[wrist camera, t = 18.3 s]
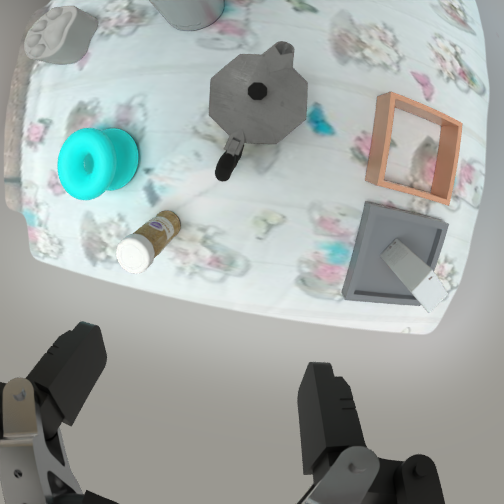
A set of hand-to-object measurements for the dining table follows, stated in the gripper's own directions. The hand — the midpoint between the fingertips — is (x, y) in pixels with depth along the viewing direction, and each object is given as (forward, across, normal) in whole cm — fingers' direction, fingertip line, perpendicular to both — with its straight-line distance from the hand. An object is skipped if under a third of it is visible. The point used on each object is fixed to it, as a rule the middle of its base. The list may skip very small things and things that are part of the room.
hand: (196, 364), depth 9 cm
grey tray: (+33, -26, +6) cm, 43 cm away
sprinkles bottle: (+33, +12, +6) cm, 36 cm away
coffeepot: (+33, 0, -11) cm, 35 cm away
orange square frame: (+33, -24, -12) cm, 43 cm away
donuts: (+33, +22, -4) cm, 40 cm away
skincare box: (+32, -26, +6) cm, 42 cm away
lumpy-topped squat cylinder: (+33, +37, -28) cm, 57 cm away
